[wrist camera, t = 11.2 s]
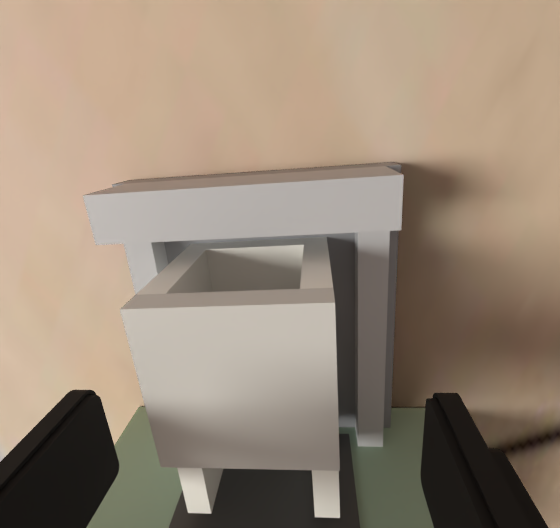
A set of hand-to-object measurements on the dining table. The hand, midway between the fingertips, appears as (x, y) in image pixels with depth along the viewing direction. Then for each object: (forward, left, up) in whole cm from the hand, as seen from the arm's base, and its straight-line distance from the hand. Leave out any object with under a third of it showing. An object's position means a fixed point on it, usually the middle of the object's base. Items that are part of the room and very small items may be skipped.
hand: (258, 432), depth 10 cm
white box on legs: (0, 0, -5) cm, 5 cm away
